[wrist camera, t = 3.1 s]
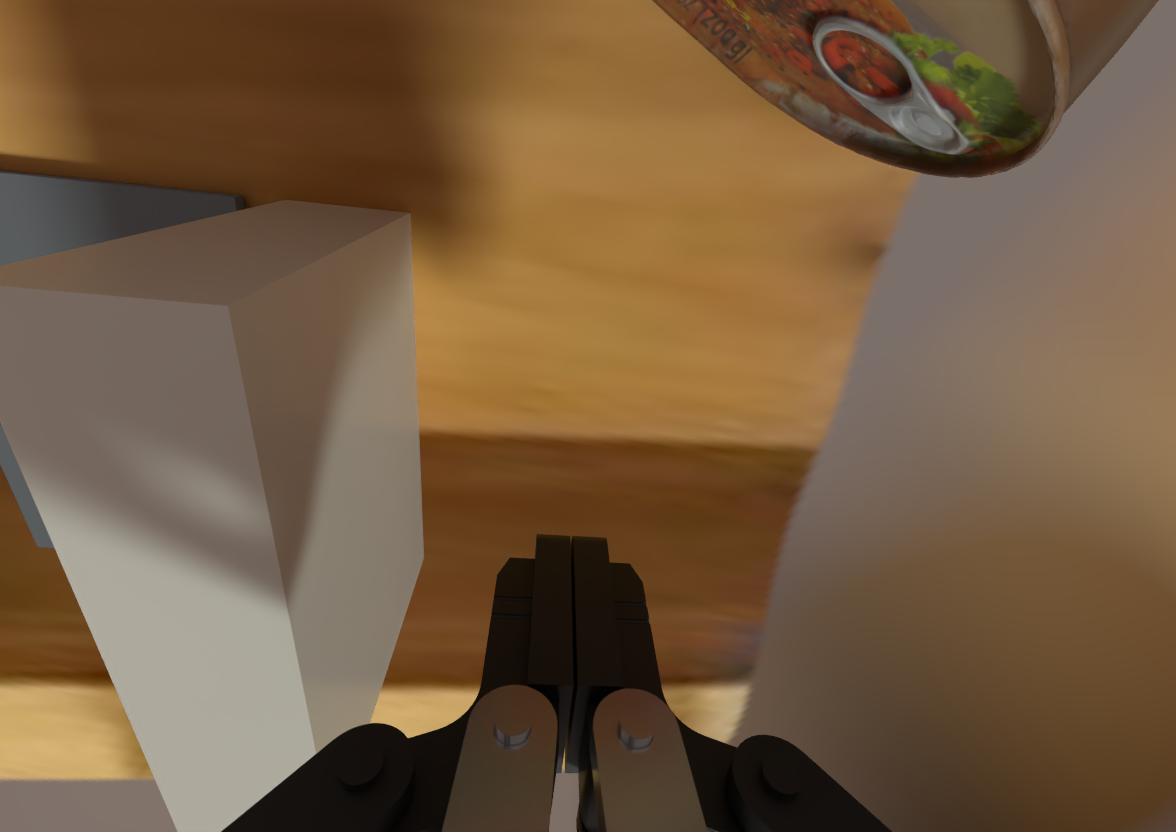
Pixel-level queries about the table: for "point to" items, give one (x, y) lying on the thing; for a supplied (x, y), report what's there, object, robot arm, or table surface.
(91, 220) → the mat
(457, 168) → the table surface
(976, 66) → the tin
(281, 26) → the table surface
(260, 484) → the tile
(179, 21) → the table surface
